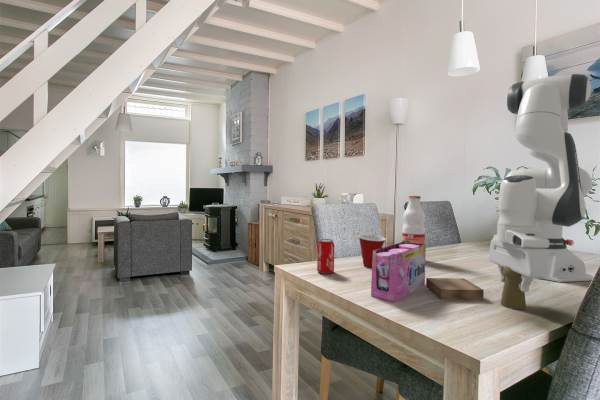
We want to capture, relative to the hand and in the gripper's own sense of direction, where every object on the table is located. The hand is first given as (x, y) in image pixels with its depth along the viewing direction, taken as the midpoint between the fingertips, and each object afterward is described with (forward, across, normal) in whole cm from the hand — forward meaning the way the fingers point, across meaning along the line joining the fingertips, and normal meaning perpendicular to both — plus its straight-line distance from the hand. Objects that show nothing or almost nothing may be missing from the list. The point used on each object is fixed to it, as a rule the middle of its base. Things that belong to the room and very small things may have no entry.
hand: (514, 286), depth 94 cm
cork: (+6, 0, 0) cm, 6 cm away
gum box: (+6, -13, -27) cm, 31 cm away
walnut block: (+5, -10, -12) cm, 17 cm away
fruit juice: (+5, -55, -10) cm, 56 cm away
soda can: (+6, -33, -49) cm, 59 cm away
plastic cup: (+6, -44, -30) cm, 54 cm away
